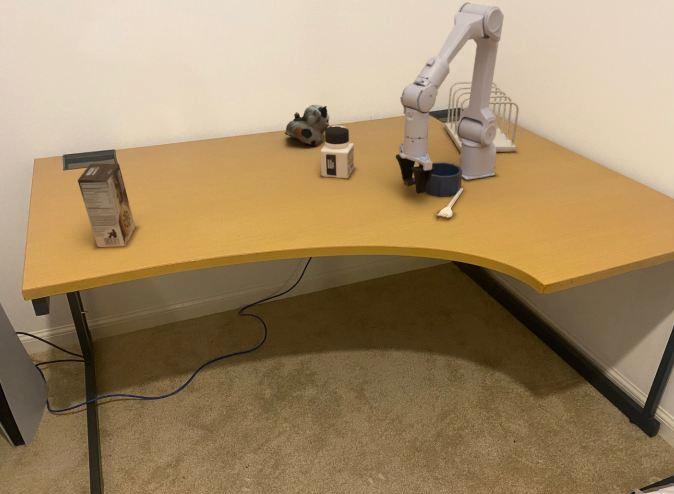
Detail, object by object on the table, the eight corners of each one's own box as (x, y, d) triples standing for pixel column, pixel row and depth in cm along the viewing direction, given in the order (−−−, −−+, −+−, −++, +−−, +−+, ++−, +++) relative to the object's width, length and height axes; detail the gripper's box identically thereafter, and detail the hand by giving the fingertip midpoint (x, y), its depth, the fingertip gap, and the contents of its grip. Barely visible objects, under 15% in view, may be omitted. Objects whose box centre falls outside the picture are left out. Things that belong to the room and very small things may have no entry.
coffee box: (108, 228, 134) (90, 163, 125) (136, 227, 135) (120, 162, 126) (96, 247, 126) (75, 179, 118) (125, 246, 127) (107, 178, 118)
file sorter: (515, 152, 177) (523, 101, 168) (460, 154, 175) (465, 102, 167) (493, 126, 198) (499, 80, 189) (444, 128, 196) (447, 81, 188)
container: (347, 179, 159) (347, 133, 152) (321, 176, 160) (319, 131, 153) (354, 168, 165) (353, 124, 158) (328, 166, 167) (326, 122, 159)
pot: (443, 178, 160) (444, 159, 157) (467, 190, 153) (469, 171, 150) (393, 192, 151) (393, 173, 148) (417, 206, 145) (418, 186, 141)
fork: (467, 191, 152) (468, 185, 151) (446, 223, 137) (447, 216, 136) (455, 189, 153) (456, 183, 152) (433, 221, 138) (434, 214, 137)
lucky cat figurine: (286, 134, 190) (302, 94, 187) (319, 149, 192) (336, 110, 188) (279, 135, 176) (297, 92, 172) (315, 152, 177) (333, 109, 174)
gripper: (389, 128, 144) (387, 178, 152) (414, 146, 133) (412, 200, 141) (414, 125, 147) (411, 175, 154) (441, 143, 135) (437, 195, 143)
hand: (413, 186), depth 148 cm, fingers open, 7 cm apart
